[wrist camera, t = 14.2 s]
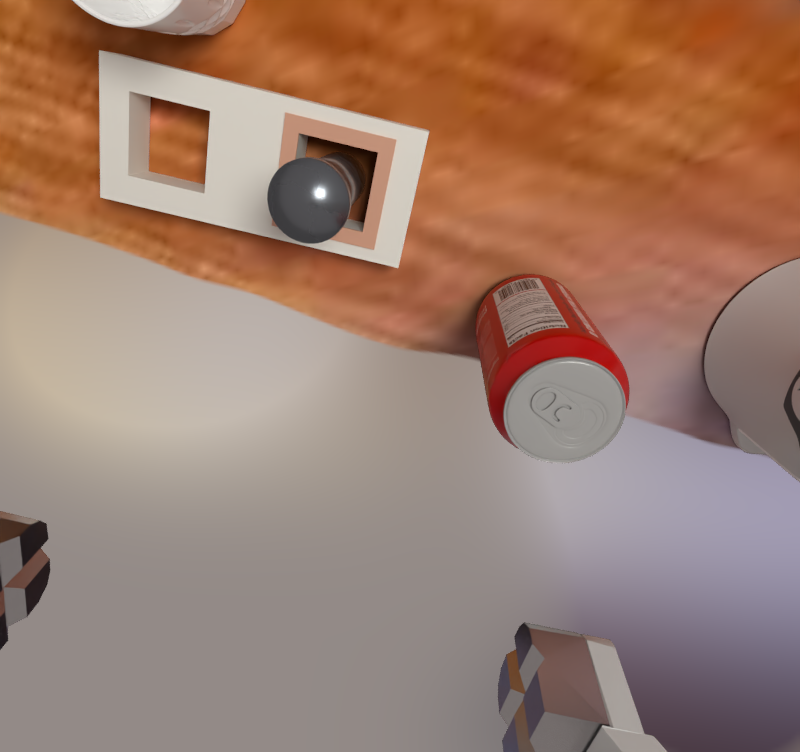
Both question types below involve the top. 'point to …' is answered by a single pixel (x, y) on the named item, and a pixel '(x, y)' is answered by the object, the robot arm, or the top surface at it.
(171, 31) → the white cup
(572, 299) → the soda can
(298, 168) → the pin
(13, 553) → the robot arm
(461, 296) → the top surface
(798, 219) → the top surface
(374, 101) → the top surface
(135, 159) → the dock board
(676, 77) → the top surface
